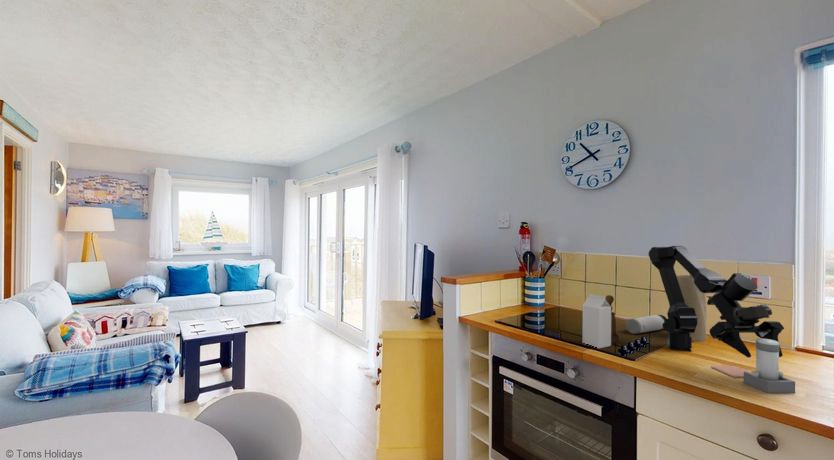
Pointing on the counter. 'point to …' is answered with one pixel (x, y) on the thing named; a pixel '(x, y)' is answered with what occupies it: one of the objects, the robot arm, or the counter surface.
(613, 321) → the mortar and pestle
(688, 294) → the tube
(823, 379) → the counter surface
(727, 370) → the mat
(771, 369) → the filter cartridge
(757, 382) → the cartridge housing
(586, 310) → the milk carton
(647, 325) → the travel mug
